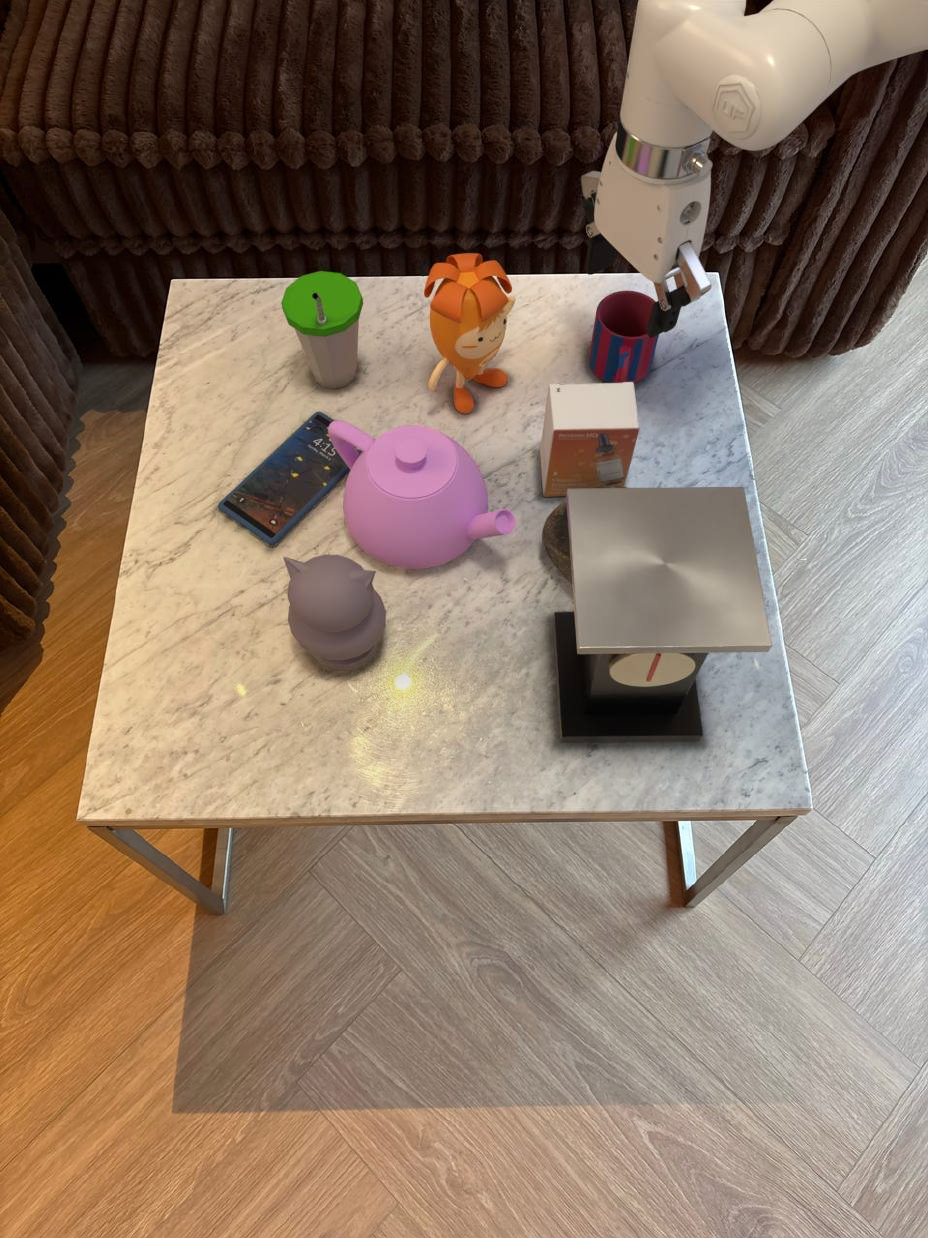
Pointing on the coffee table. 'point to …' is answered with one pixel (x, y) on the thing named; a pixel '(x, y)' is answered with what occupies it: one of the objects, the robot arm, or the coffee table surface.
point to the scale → (652, 608)
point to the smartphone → (287, 482)
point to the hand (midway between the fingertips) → (629, 298)
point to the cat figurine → (335, 610)
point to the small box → (587, 436)
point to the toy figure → (468, 321)
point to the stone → (560, 538)
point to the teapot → (414, 495)
